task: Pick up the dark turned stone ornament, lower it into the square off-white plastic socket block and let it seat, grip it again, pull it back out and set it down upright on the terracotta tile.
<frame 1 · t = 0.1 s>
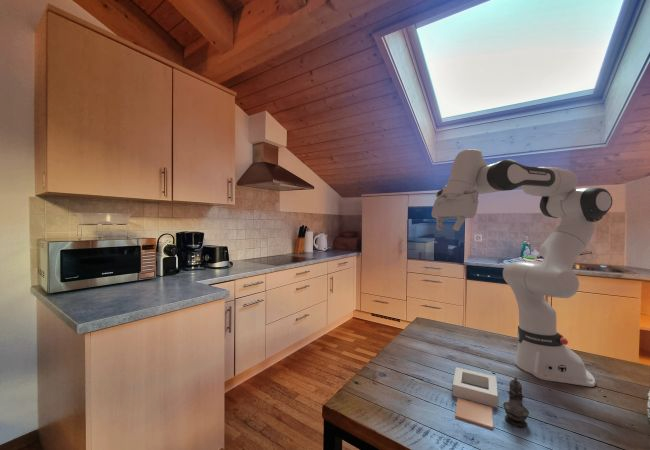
hand: (446, 229, 96), 52 cm above the table, tool tilted 20°, fingers open, 8 cm apart
dark turned stone ornament: (515, 422, 74), on the table
terracotta tile: (474, 413, 78), on the table
socket block: (475, 391, 88), on the table
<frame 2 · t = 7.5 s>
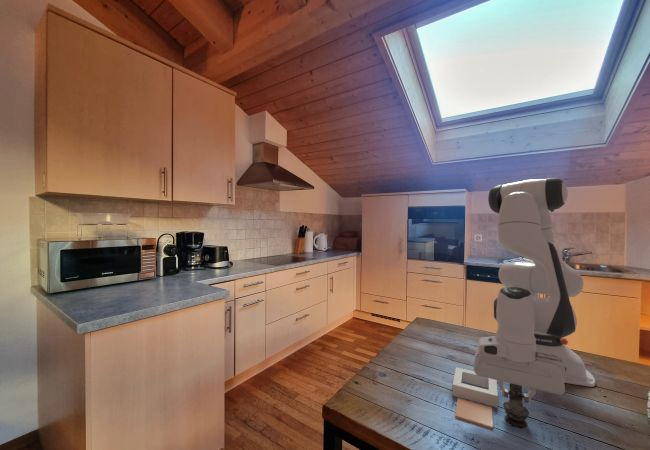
hand: (515, 399, 74), 6 cm above the table, tool pointing down, fingers closed on dark turned stone ornament, 4 cm apart
dark turned stone ornament: (515, 422, 74), on the table, touching gripper
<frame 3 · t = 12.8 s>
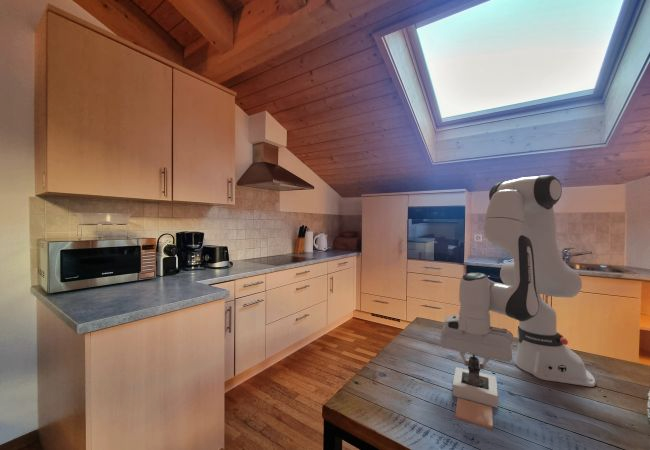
hand: (474, 366, 88), 8 cm above the table, tool pointing down, fingers closed on dark turned stone ornament, 3 cm apart
dark turned stone ornament: (474, 392, 88), resting in socket block, touching gripper
when the fingers open (7 cm above the table, at t = 13.6 s): dark turned stone ornament stays where it is, resting in socket block.
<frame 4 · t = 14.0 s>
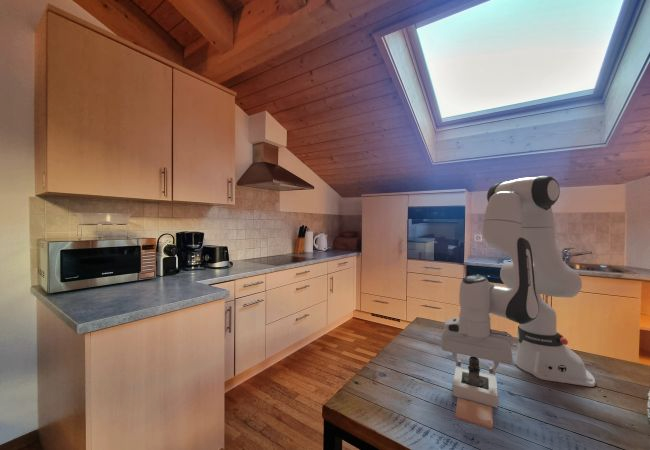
hand: (474, 369, 88), 7 cm above the table, tool pointing down, fingers open, 8 cm apart
dark turned stone ornament: (474, 392, 88), resting in socket block
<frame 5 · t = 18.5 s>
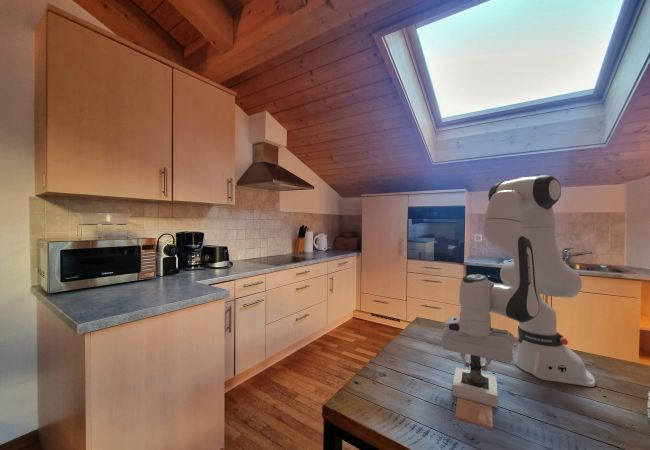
hand: (475, 368, 88), 7 cm above the table, tool pointing down, fingers closed on dark turned stone ornament, 4 cm apart
dark turned stone ornament: (476, 389, 88), point 1 cm above the table, touching gripper
when the fingers open (12 cm above the table, at t = 23.2 s): dark turned stone ornament drops 4 cm, resting on terracotta tile.
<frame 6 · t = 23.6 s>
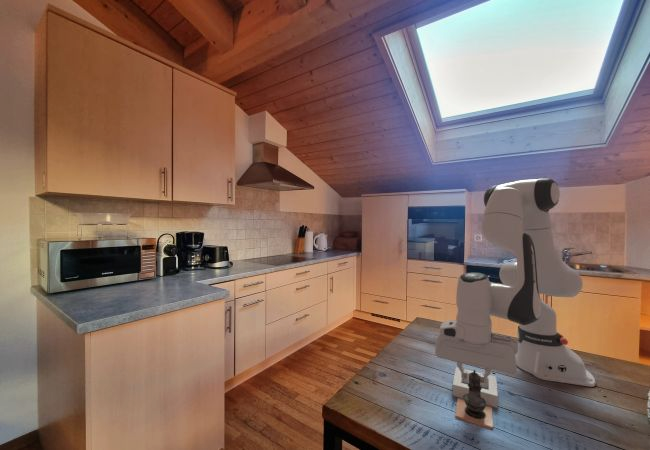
hand: (473, 379, 78), 10 cm above the table, tool pointing down, fingers open, 3 cm apart
dark turned stone ornament: (474, 413, 77), resting on terracotta tile, touching gripper
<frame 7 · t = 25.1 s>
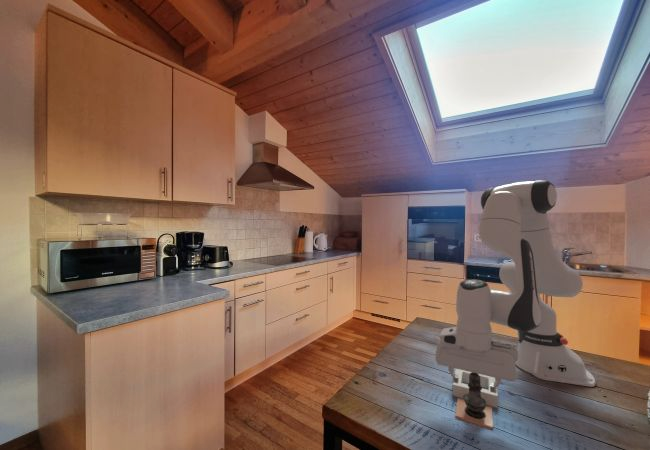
hand: (473, 386, 78), 8 cm above the table, tool pointing down, fingers open, 8 cm apart
dark turned stone ornament: (474, 413, 77), resting on terracotta tile
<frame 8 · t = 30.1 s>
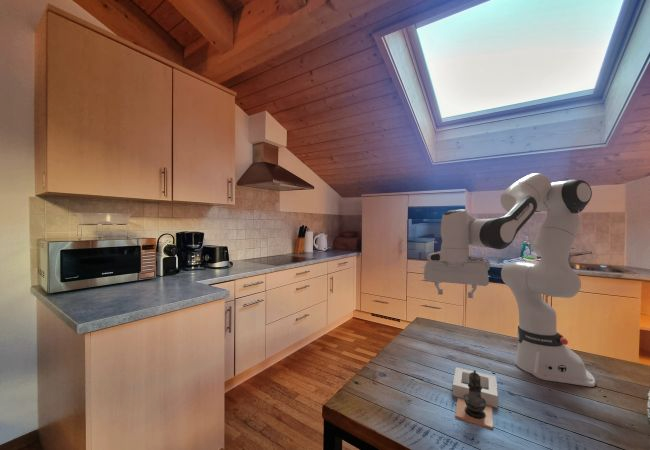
hand: (455, 295, 95), 29 cm above the table, tool pointing down, fingers open, 8 cm apart
nothing on the table moved.
at the end: dark turned stone ornament inside the target area (0.5 cm from its centre), resting on terracotta tile; dark turned stone ornament tilted 0°; the gripper is holding nothing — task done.
